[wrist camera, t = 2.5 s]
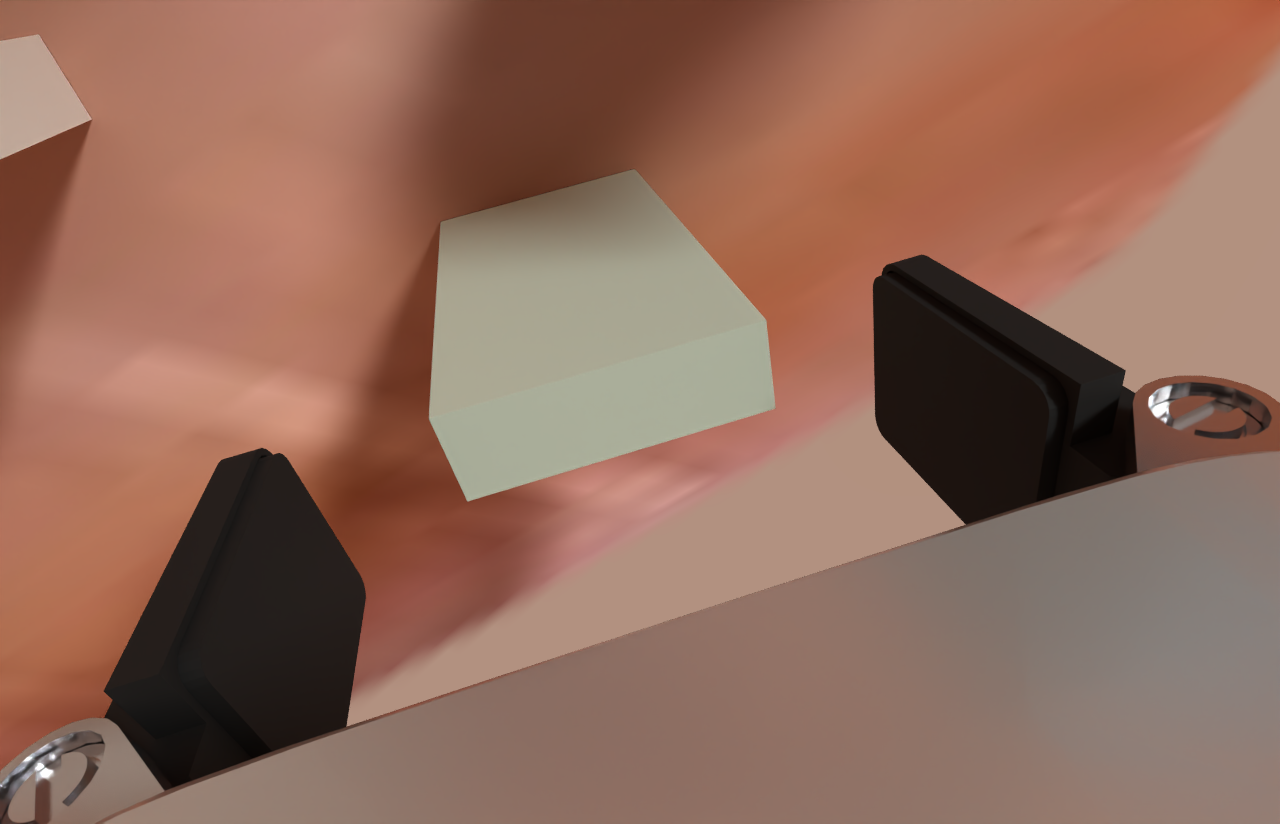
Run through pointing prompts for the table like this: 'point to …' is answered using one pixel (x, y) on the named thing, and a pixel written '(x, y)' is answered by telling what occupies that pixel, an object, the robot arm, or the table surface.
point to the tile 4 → (33, 96)
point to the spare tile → (584, 335)
